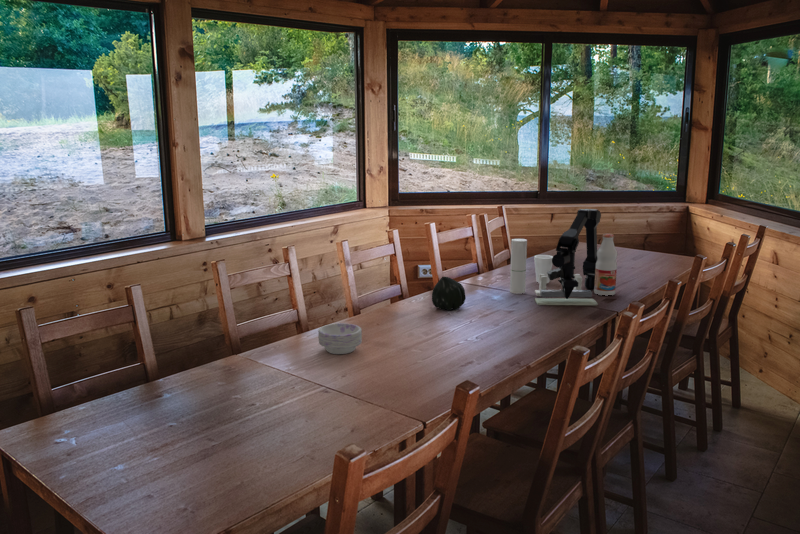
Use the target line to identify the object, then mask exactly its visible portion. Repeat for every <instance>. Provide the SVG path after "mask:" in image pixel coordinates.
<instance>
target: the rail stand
mask: <svg viewBox="0 0 800 534" xmlns="http://www.w3.org/2000/svg"><path fill="white" fill-rule="evenodd" d="M574 276H575V278H573V279H576V280H577V282H578V287H574V289H573V290H582V284H583V276H581V274H580V273H576V274H575V273H574ZM538 284H539V285H538V289H535V290H534V294H535V293H536V294H535V295H536V297H541V296H540V290H547V284H548V283H547V277H545V274H540V275H539V283H538Z"/></svg>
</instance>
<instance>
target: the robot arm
mask: <svg viewBox="0 0 800 534" xmlns="http://www.w3.org/2000/svg"><path fill="white" fill-rule="evenodd" d="M576 212H577V213H576V216H575V217H574V220H573V221H572V223H571V224H570V227H569V229H568V230H566V231H564V232H562V234H561V236H560V237H559V239H558V242H557V245H556V248H555V251H556V254H555V255H552V256H553V258H552V263H553V264H552V266H554V267H555V268H553V269H551V271H548V272H547V274H548V277H549V279H550V280H549V281H554V280H556V279H557V281H558V282H559V283H560V285H561V288H562V289H561V290H564V292H565V297H564V298H566V299H568V298H570V297H569V296H570V294H571V292H572V290H574V287H578V282H577V280H576V279H574V278H575V276H574V274H575V270H576V266H575V257H576V252H577V249H578V246H579V245H580V244H579V243H580V239H579V236H580V234H581V232H582V230H583V228H585V237H586V238H585V240H586V241H585V243H586V257H585V259H584V260H583V262H582V274H583V275H582V276H585V278H584V287H585V289H586V290H594V285H595V268H596V262H597V250H598V232H597V230H598V225H599V224H600V222H601V218H602V213H601V211H600V210H599V209H595V208H584V209H578V210H577V211H576Z"/></svg>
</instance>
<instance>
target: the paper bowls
mask: <svg viewBox="0 0 800 534" xmlns="http://www.w3.org/2000/svg"><path fill="white" fill-rule="evenodd" d="M317 331H318V344H319V345H320V346H321V347H324V349H325V351H326V352H327V353H330V354H332V355H333V354H334V355H345V354H350V353H353V352H354V351H355V350H356V348H357V346H360V345H362V342H363V337H362V335H363V334H362V333H363V332H362V327H361V326H359V325H357V324H353V323H345V322H344V323H329V324H326V325H323V326H320V328H319V329H318V330H317Z"/></svg>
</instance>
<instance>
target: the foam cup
mask: <svg viewBox="0 0 800 534" xmlns="http://www.w3.org/2000/svg"><path fill="white" fill-rule="evenodd" d="M553 256H554V255H549V254H536V255H534V256H533V262H534V270H535V281H536V283H537V282H538V283H537V284H539V275H540V274H545V277H547V283H546V284H549V283H550V281H551V280H550V279H549V277H548V274H547V272H548V271H551V270H553V269H552V268H553V263H552V258H553Z"/></svg>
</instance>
